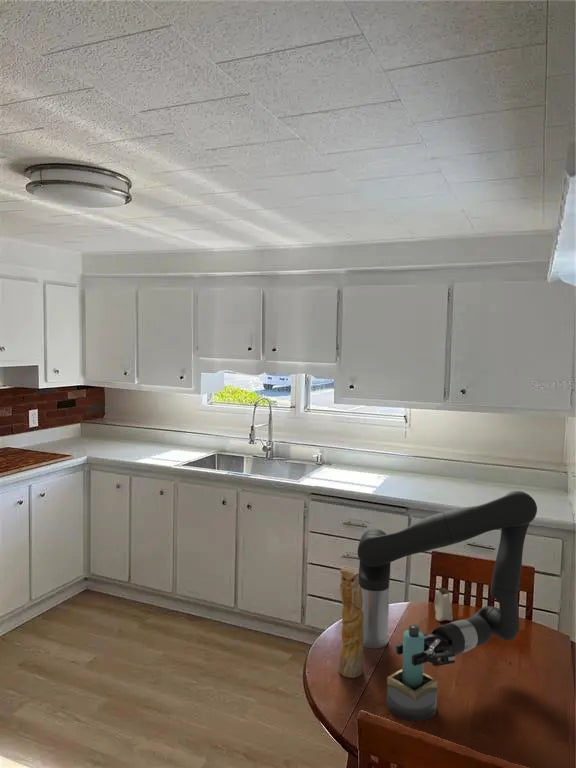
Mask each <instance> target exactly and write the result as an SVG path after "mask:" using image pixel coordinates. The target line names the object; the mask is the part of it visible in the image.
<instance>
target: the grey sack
mask: <svg viewBox="0 0 576 768" xmlns="http://www.w3.org/2000/svg"><path fill="white" fill-rule="evenodd" d="M450 598H451V597H450V590H449V589H447V588H444V587H439V588H438V592H437V593H436V595H435V597H434V602H433V603H434V610H435V621H438V622H443V621H450V622H453V620H454V617H453V607H452V603H451V599H450Z"/></svg>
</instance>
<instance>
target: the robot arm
mask: <svg viewBox="0 0 576 768" xmlns="http://www.w3.org/2000/svg"><path fill="white" fill-rule="evenodd" d="M537 513H538V505H537V502H536V501H535V499H534V498H533V497H532V496H531V495H530V494H528V493H526V492H524V491H520V490H516V491H515V490H514V491H510V492H508V493H507V494H505V495H503V496H501V497H498V498H496V499H493V500H491V501H488V502H486V503H481V504H479V505H473V506H466V507H465V506H464V507H460V508H454V509H450V510H449V509H448V510H445V511H442V512H438V513H435V514H432V515H428V516H426V517H424V518H422V519H420V520H418V521H416V522H414V523H413V524H411V525H409V526H408V527H405V528H403V529H401V530H399V531H396V532H392V533H388V534H387V533H386V532H385V531H383V530H381V529H378V528H371V529H368V530H367V531H365V532H364V533H363V534H362V535H361V538H360V540H359V543H358V544H357V546H358V547H357V557H358V559H359V568H358V572H359V573H360V574H359V575H358V577H359V585H360V587H361V590H362V597H363V604H362V609H361V610H362V611H363V613H364V618H363V648H369V649H381V648H385V646H387V645H388V641H389V638H388V637H389V611H390V610H389V607H390V605H389V604H390V579H391V564H392V562H395V561H397V560H400V559H402V558H405V557H408V556H411V555H415V554H416V555H417V554H420V553H424V552H429V551H432V550H436V549H439V548H440V549H441V548H444V547H449V546H453V545H455V544H459V543H462V542H464V541H468V540H471V539H473V538H475V537H478V536H480V535H482V534H486V533H488V532H491V531H496V530H501V531H500V539H499V545H498V549H497V550H498V551H497V555H496V558H495V562H494V567H493V571H492V577H491V583H490V588H489V590H490V591H489V592H490V596H491V597H492V598H493V599H494V600H495V601H496V602H498V604H499V608H498V607H495V606H491V605H488V606H487V605H486V606H483V607H481V608H479V610H478V611H477V612H475V613H474V614H473V615H472V616H470V617H467V618H464V619H460V620H459V619H458V620H454V621H450V622H449V623H445V624H443V625H439V626H436V627H435V628H434V629H433V631H432V632H430V633H425V634H424V633H423V634H424V652H422V653H419V654H416V655H413V656H412V664H413V665H414V666H416V665H420V664H423V665H424V664H430V663H431V664H432V666H433V667H439V666H445V665H451V664H455V663H456V656H458V655H461V654H463V653H467V652H469V651H471V650H472V649H474V648H476V647H479V646H481V645H482V646H483V645H484V644H486V643H488V642H489V641H490V639H491V637H492V636H495V637H496V638H499V639H501V640H502V641H507V642H510V641H512V640H514V639H515V638H516V637H517V636H518V634H519V631H520V614H519V604H518V595H519V594H518V593H519V588H520V583H521V575H522V567H523V566H522V565H523V553H524V552H523V551H524V544H525V538H526V535H527V531H528V528H529V526H530V523H531V522H533V521H534V520H535V518H536V516H537ZM419 631H420V629H419ZM420 632H421V631H420ZM395 650H396V654H397V655H399V656H400V655H403V642H402V643H398V644H396V649H395ZM439 658H440V660H439Z"/></svg>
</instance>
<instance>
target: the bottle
mask: <svg viewBox="0 0 576 768" xmlns="http://www.w3.org/2000/svg"><path fill="white" fill-rule="evenodd" d="M419 630H420V626H419V625H417V624H409V625H408V629H406V630H405V631H404V632H403V634H402V636H403V637H402V643H403V654H402V667H401V669H402V682H403V684H404V685H406V686H408V687H410V688H419V687H421V686H422V685H423V673H424V663H423V664H420V665H416V666H414V665H413V664H412V656H413V655H416V654H419V653H422V652H424V653H425V651H424V633H423V632H422V631H419Z"/></svg>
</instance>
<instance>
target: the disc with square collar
mask: <svg viewBox="0 0 576 768" xmlns="http://www.w3.org/2000/svg"><path fill="white" fill-rule="evenodd" d="M437 699H438V680H437V679H436V678H434V677H433V676H430V675H429V674H427V673H424V672H423V685H422V686H421V687H419V688H410V687H408V686H406V685H404V684H403V682H402V668H401V669H399V670H397V671H396V672H394V673H392V674H390V675H388V676H387V677H386V706H387V708H388V710H389V711H390V712H391V713H392V714H394V715H396V716H397V717H399V718H401V719H404V720H408V721H412V722H413V721H414V722H422V721H427V720H430V719H431V718H432V717H434V716H435V715H436V713H437V702H438V701H437Z"/></svg>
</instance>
